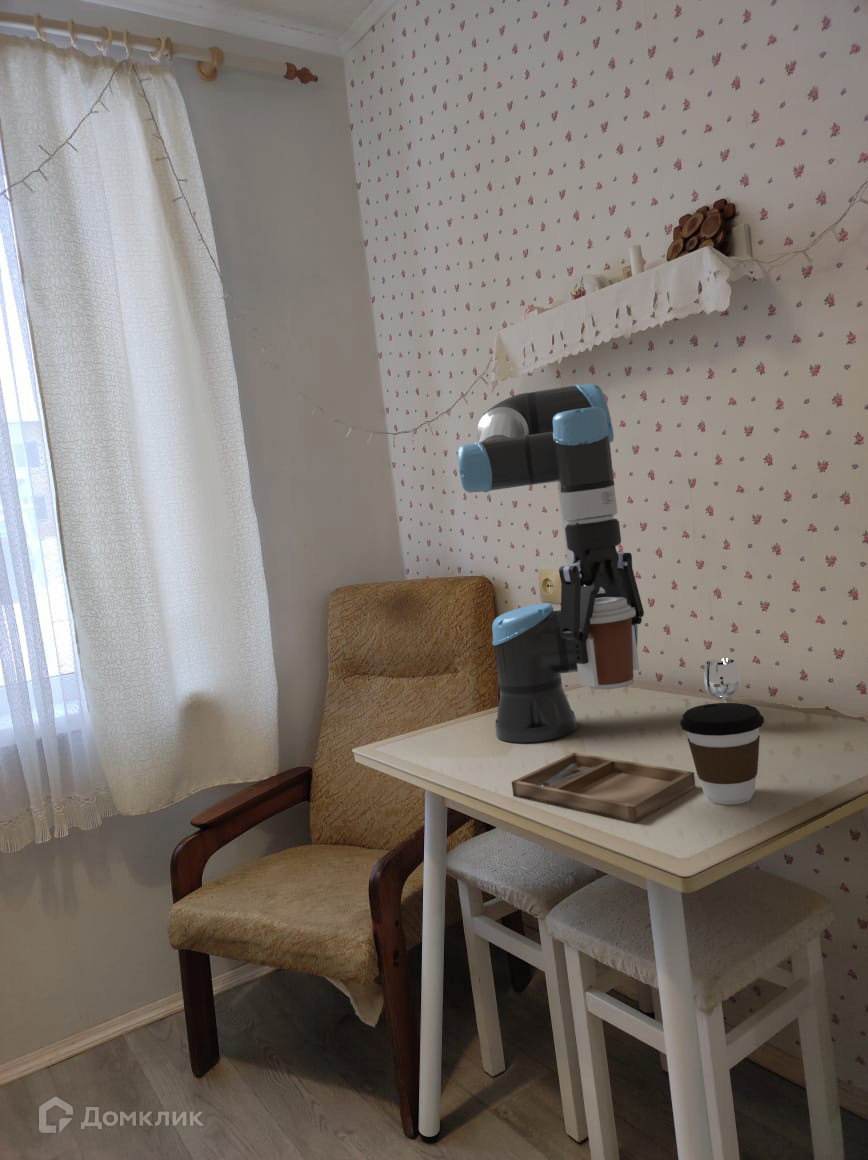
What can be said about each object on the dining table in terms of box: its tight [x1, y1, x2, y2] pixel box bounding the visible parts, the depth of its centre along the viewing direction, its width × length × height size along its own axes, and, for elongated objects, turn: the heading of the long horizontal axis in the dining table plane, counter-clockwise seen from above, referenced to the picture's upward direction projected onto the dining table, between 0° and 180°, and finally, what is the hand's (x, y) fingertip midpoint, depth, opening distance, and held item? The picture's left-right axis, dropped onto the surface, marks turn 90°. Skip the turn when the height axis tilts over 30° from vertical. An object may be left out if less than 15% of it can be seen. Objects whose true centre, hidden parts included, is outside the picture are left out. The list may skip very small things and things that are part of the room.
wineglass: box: [703, 658, 741, 703], centre depth 152 cm, size 6×6×12 cm
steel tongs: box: [539, 764, 595, 788], centre depth 136 cm, size 11×5×1 cm, turn 132°
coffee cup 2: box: [679, 702, 765, 806], centre depth 123 cm, size 11×11×12 cm
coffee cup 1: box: [580, 597, 636, 690], centre depth 127 cm, size 9×9×12 cm
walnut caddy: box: [511, 752, 696, 824], centre depth 132 cm, size 22×15×2 cm
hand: (609, 676), depth 127 cm, fingers closed on coffee cup 1, 9 cm apart
